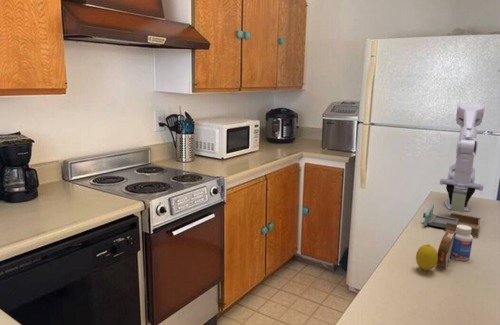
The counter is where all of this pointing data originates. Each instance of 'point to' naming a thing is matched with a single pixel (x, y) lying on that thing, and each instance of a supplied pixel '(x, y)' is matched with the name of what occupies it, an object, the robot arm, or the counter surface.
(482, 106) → the robot arm
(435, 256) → the lemon
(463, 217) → the brown shallow rectangular box
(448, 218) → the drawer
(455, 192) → the block
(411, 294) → the counter surface
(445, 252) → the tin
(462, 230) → the pill bottle
